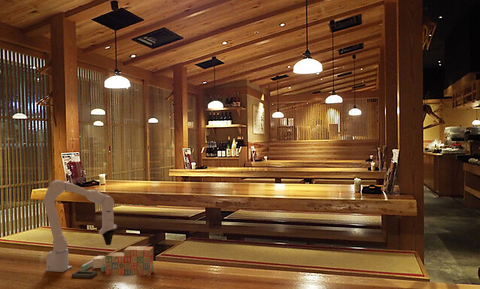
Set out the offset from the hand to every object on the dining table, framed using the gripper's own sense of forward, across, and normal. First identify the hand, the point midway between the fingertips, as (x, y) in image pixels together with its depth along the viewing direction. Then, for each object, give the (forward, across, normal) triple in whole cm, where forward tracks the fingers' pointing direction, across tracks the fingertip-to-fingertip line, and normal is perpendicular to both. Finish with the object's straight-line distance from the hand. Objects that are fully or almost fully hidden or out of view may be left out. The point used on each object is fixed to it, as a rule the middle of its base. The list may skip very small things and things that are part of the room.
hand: (108, 244), depth 199 cm
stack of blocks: (+9, -15, -20) cm, 26 cm away
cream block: (+9, -8, 0) cm, 12 cm away
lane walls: (+9, -10, 0) cm, 13 cm away
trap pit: (+9, -22, 0) cm, 23 cm away
